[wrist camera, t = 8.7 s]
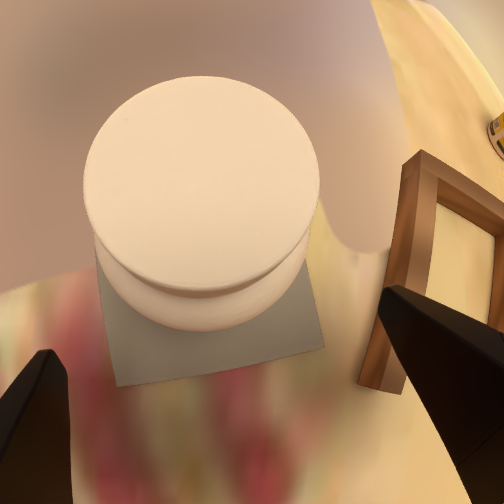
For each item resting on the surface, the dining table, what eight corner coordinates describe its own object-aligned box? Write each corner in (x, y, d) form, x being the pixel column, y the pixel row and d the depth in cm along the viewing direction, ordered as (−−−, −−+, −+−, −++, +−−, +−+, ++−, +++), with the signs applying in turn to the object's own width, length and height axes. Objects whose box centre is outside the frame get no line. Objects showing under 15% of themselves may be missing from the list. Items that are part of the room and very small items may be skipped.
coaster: (320, 346, 17) (324, 346, 16) (119, 385, 15) (117, 387, 14) (277, 162, 19) (279, 157, 19) (94, 190, 17) (91, 185, 16)
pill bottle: (126, 235, 16) (34, 105, 6) (233, 194, 18) (275, 34, 7) (168, 348, 15) (99, 387, 5) (280, 301, 17) (406, 252, 6)
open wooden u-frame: (480, 405, 18) (503, 409, 15) (357, 384, 17) (378, 390, 14) (504, 227, 22) (524, 219, 19) (402, 165, 21) (421, 149, 18)
